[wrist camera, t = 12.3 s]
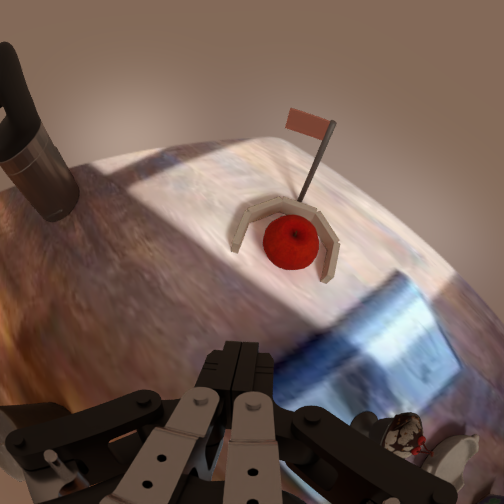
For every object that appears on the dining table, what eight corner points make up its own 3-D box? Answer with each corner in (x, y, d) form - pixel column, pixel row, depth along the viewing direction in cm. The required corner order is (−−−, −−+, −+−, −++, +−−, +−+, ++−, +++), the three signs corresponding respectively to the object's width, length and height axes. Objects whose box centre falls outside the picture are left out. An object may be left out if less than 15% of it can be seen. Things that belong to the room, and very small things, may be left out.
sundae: (371, 450, 29) (433, 473, 16) (336, 440, 30) (394, 468, 17) (389, 412, 32) (456, 420, 18) (356, 400, 33) (421, 409, 19)
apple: (280, 220, 43) (290, 193, 37) (320, 251, 42) (337, 228, 35) (248, 255, 40) (254, 231, 34) (291, 289, 39) (305, 271, 32)
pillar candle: (67, 396, 28) (1, 399, 15) (94, 455, 25) (39, 484, 11) (29, 407, 26) (-34, 409, 12) (53, 462, 23) (-4, 482, 9)
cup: (326, 283, 40) (389, 225, 23) (231, 251, 40) (238, 170, 24) (339, 216, 45) (388, 144, 29) (257, 187, 46) (274, 101, 29)
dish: (466, 425, 31) (484, 426, 26) (456, 482, 25) (471, 485, 20) (416, 447, 29) (434, 452, 25) (404, 508, 24) (419, 516, 19)
